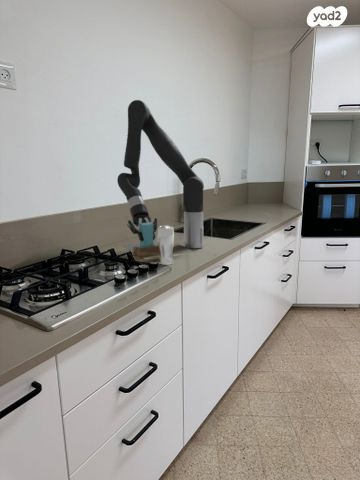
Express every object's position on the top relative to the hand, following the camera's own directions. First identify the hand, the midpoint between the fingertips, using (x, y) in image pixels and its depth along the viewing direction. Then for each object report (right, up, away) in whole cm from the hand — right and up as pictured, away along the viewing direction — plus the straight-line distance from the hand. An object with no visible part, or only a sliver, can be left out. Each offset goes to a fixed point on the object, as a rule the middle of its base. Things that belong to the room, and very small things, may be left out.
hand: (148, 239), depth 148 cm
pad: (-7, -4, +16) cm, 19 cm away
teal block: (-1, -5, +3) cm, 6 cm away
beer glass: (+8, -10, -7) cm, 14 cm away
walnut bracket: (-1, -7, +3) cm, 8 cm away
